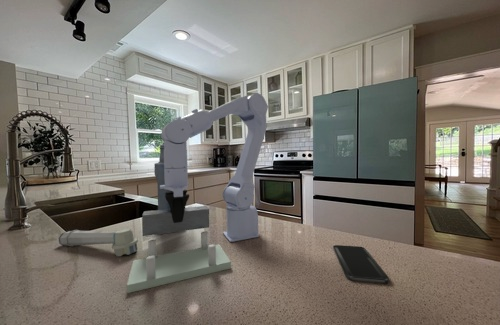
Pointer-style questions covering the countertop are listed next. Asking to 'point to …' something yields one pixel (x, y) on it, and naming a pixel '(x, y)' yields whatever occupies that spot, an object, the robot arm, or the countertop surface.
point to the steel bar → (164, 223)
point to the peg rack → (176, 265)
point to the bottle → (161, 181)
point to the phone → (359, 265)
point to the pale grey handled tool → (102, 239)
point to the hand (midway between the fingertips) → (177, 219)
